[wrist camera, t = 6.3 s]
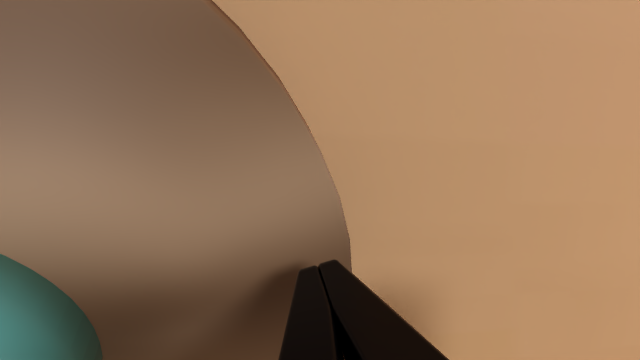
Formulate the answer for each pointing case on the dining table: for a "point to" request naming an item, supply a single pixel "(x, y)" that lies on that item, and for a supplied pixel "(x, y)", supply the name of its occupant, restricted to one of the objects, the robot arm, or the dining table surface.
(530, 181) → the dining table surface
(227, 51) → the disc
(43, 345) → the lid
